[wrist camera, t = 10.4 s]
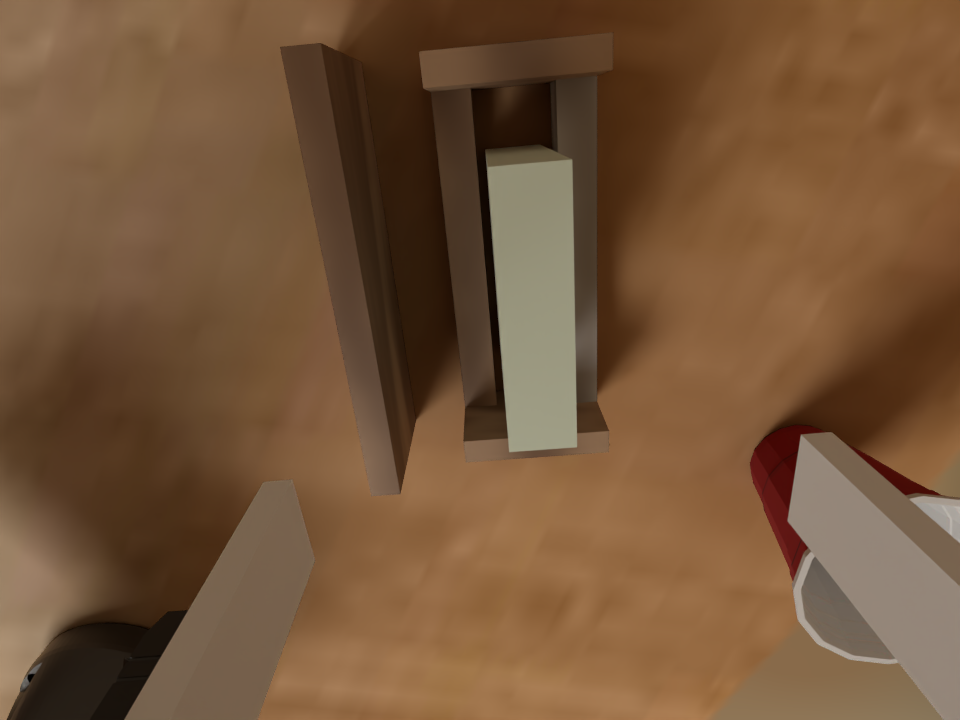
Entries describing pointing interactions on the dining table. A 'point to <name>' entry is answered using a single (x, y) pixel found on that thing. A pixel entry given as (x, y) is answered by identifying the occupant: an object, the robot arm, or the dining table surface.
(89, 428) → the dining table surface
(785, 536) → the plastic cup
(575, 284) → the track
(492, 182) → the door panel
